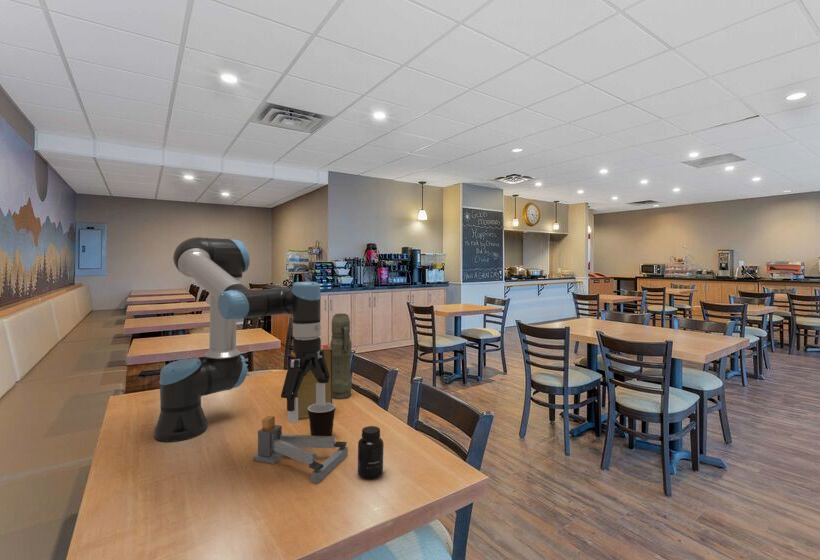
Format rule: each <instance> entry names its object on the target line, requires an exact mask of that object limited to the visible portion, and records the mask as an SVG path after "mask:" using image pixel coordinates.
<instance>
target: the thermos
mask: <svg viewBox="0 0 820 560" xmlns="http://www.w3.org/2000/svg"><path fill="white" fill-rule="evenodd" d="M350 332H351V320H350V316H349V315H348V314H347V313H335V314H334V315H333V316H332V319H331V333H332V334H331V340H330V343H329V346H330V347H331V348H332V400H345V399H349V398H351V397H350V396H352V378H351V356H352V340H351V335H350Z"/></svg>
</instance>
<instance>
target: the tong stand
mask: <svg viewBox="0 0 820 560" xmlns="http://www.w3.org/2000/svg"><path fill="white" fill-rule="evenodd" d="M271 438H272V456H271V457H267V456H262V455H258V453H256V454H254V455H253V457H252V459H253V461H255V462H256V461H257V462H260V463H261V462H262V463H267V464H271V465H274V464H277V463H278V462H279V461H280V460H281V459H283V458H285V455H283V454H280V453H278V452H275V451H273V434H272V435H271ZM348 448H349V447H348V446H346V447H345V448H339V447H338V449H336V451H334V452H333V453H332V454H331V455H330V456H329V457H327V459H325V460H324V461H323V462H321V464H323V468H322V469H320V470H318V471H317V470H314V469H313V471H312V472H311V474H310V475H311V479H310V480H311V483H312V484H317V485H318V484H320V482H322V481H324V479H325V478H326V477H327V476H328V475H329V474H330V473H332V471H333V470H334V469H335V468H336V467H338V466H339V464H340V463H342V462H343V460H344V459H346V457H348V456H349V451H348V450H349V449H348Z"/></svg>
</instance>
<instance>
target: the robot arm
mask: <svg viewBox="0 0 820 560" xmlns="http://www.w3.org/2000/svg"><path fill="white" fill-rule="evenodd" d="M250 262H251V258H250V254H249V250H248V248H247V246H246V245H245V243H244V242H243V241H241V240H238V239H232V238H216V237H215V238H213V237H199V236H197V237H191V238H188V239H185V240H184V241H182V242H180V243H179V244H178V245H177V246H176V248H175V250H174V252H173V264H174V266H175V268H176V269H177V271H179V273H181V274H182V275H184V276H185V277H188V278H192V279H193V280H194V281H195V282H196V283H198V285H200V286H201V287H202V288H204V289H205V290H206V292H208V293H209V296H210V297H209V299H210V300H209V301H210V303H209V349H208V350H207V351H206V352H204V358H203V359H204V360H202V361H201V359H200V358H197V357H191V358H184V359H179V360H175V361H172V362H170V363H167V364H165V365H164V366H163V367H162V368H161V370H160V373H159V374H160V375H159V381H158V382H159V393H160V394H159V395H160V397H159V399H160V402H159V403H160V412H159V417H158V419H157V423H156V426H155V428H154V436H153V437H154V438H155V440H157V441H160V442H178V441H184V440H189V439H192V438H195V437H197V436H199V435H202V434H203V433H204V432H206V431H207V429H208V419H207V418H206V416H205V412H204V410H203V407H202V397H204V396H208V395H212V394H215V393H216V394H217V393H221V392H225V391H230V390H233V389H235V388H238V387H240V386H241V385H242V384H243V383H244V382H245V380H246V378H247V374H248V364H247V363H246V362H247V360H246V358H245V357H244V356H243V355H241V351H240V350H239V349H238V348H237V320H242V319H249V318H256V317H266V316H268V317H269V316H278V315H291V316H292V337H293V339H292V352H293V353H294V354H295V353H296V354H297V357H296V359H295V358H294V359H291V358H290V359H289V360H288V362H287V365H288V366H287V372H286V373H285V374H286V375H285V379H284V383H283V386H282V390H281V394H280V397H281V399H286V411H287V422H288V423H293V424H298V423H299V419H298V398H296V395H297V393H298V390H299V388H300V385H301V382H302V380H303V377H304V376H305V375H306V374H307V372H309V371H310V370H311V371H312V373H313V374H314V376H315V378H316V379H317V381H318V382H319V383H316V405H320V406H325V383H328V382H329V378H330V375H329V372H328V368H327V365H326V362H325V359H324V351H323V350H321V345H322V344H321V343H322V339H321V337H320V336H321V333H322V332H321V329H322V327H321V306H322V305H321V300H322V295H321V285H320V283H319V282H317V281H299V282H298V281H296V282H293V283H292V286H291V288H289V287H274V288H261V289H259V288H258V289H249V287H247V286H245V285H244V284H243V283H242V282H241V280H242V278H243V273H245V272H247V271H248V269H249V267H250V264H251V263H250Z"/></svg>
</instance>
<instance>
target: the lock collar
mask: <svg viewBox="0 0 820 560" xmlns="http://www.w3.org/2000/svg"><path fill="white" fill-rule="evenodd" d="M261 427H262V428H261V429H258V431H257V454H258V455H262V456H267V457H271V456H272V438H271V435H272V434H273V440H274V439H279V440H280V436H281V435H282V434H283V432H282V431H283V430H282V425H279V424H276V417H275V416H274V415H268V416H266V417H263V418H262V419H261Z"/></svg>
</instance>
